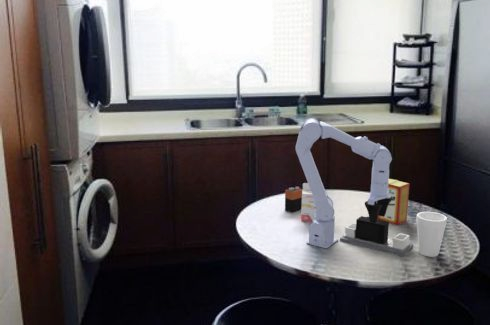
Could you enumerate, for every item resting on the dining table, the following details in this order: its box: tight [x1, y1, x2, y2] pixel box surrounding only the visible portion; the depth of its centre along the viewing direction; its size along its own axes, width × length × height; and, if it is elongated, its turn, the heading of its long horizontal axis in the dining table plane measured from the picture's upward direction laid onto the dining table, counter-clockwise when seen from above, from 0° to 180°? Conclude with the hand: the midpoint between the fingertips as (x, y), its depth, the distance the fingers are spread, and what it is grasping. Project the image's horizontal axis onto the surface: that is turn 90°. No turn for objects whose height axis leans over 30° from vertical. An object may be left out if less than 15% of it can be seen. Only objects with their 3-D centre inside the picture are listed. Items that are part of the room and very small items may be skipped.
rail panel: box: [339, 234, 414, 257], centre depth 176 cm, size 10×23×2 cm, turn 54°
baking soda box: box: [377, 178, 410, 226], centre depth 197 cm, size 10×6×16 cm
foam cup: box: [415, 211, 448, 258], centre depth 167 cm, size 10×9×13 cm
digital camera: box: [355, 215, 390, 244], centre depth 176 cm, size 10×5×7 cm, turn 54°
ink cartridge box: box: [300, 182, 316, 223], centre depth 198 cm, size 9×5×15 cm, turn 84°
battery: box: [284, 186, 303, 214], centre depth 210 cm, size 4×7×10 cm, turn 129°
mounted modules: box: [344, 222, 410, 249], centre depth 176 cm, size 6×21×3 cm, turn 54°
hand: (377, 219), depth 174 cm, fingers open, 7 cm apart
